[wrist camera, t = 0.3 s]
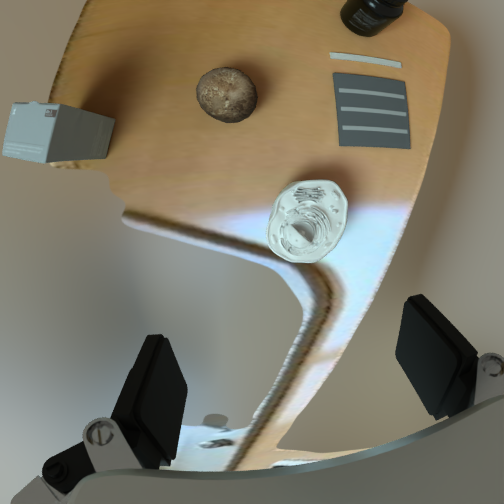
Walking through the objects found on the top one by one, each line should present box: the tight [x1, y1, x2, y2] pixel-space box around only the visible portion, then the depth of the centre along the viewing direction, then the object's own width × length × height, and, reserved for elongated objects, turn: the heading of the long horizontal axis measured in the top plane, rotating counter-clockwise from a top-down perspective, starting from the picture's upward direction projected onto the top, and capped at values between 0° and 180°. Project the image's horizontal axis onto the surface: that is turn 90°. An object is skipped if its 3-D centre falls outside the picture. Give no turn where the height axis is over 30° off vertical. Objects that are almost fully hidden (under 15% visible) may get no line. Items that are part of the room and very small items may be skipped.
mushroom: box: [196, 67, 258, 123], centre depth 31 cm, size 8×8×6 cm
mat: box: [333, 73, 410, 149], centre depth 34 cm, size 11×12×1 cm
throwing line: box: [330, 52, 402, 68], centre depth 31 cm, size 1×12×1 cm, turn 95°
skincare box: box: [2, 101, 115, 163], centre depth 26 cm, size 8×7×16 cm
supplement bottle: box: [340, 0, 408, 37], centre depth 23 cm, size 7×7×12 cm
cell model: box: [266, 180, 348, 263], centre depth 36 cm, size 10×12×7 cm
